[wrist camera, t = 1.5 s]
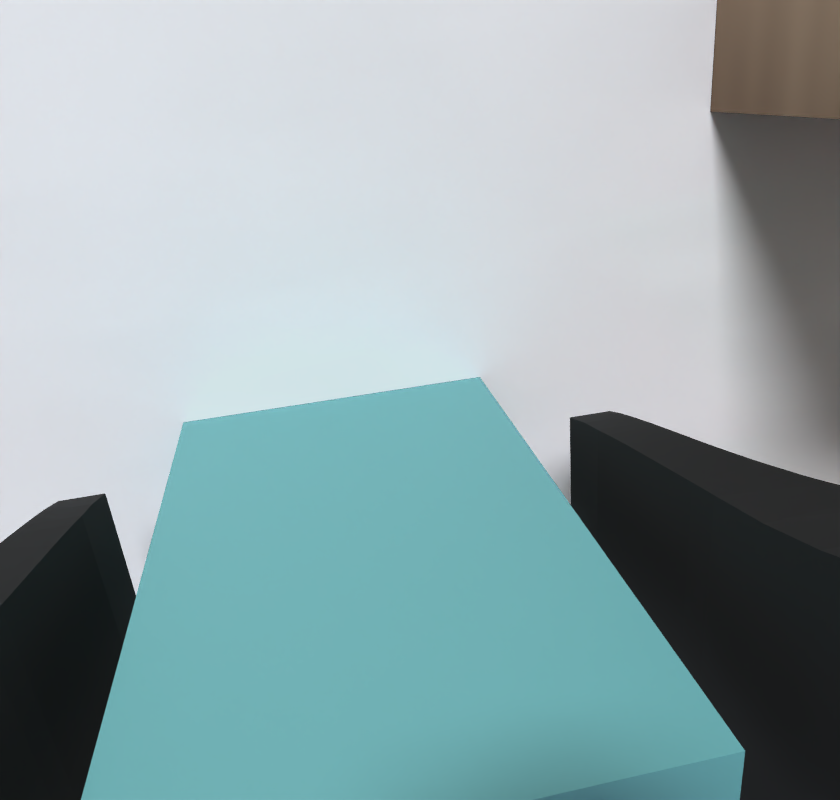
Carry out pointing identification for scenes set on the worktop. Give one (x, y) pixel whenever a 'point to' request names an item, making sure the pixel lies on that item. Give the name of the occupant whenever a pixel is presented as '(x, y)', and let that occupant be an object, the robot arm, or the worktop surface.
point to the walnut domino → (777, 58)
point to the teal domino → (392, 624)
